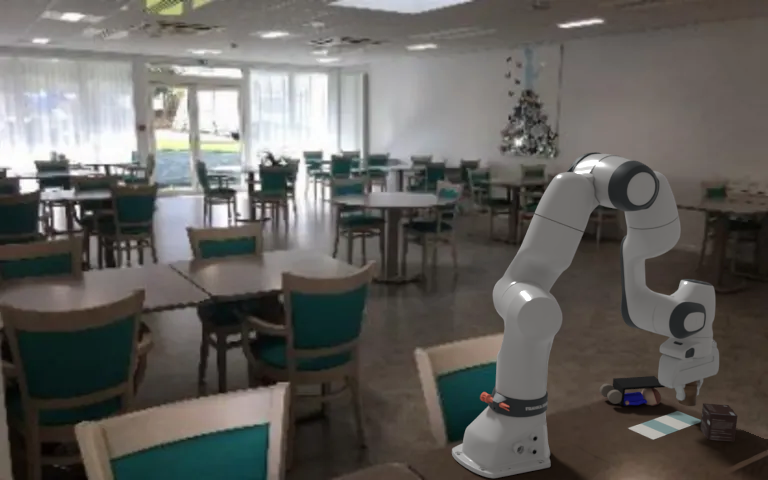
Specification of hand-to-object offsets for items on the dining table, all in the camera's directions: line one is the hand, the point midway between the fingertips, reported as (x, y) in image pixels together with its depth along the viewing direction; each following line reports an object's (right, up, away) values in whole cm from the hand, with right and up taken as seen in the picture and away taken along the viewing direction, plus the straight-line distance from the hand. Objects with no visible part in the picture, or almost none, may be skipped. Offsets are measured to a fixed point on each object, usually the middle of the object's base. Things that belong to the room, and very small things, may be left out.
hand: (687, 397), depth 166 cm
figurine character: (-10, -5, +10) cm, 15 cm away
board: (-7, -7, -3) cm, 10 cm away
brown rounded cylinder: (0, -1, 0) cm, 2 cm away
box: (+3, -8, -8) cm, 12 cm away
